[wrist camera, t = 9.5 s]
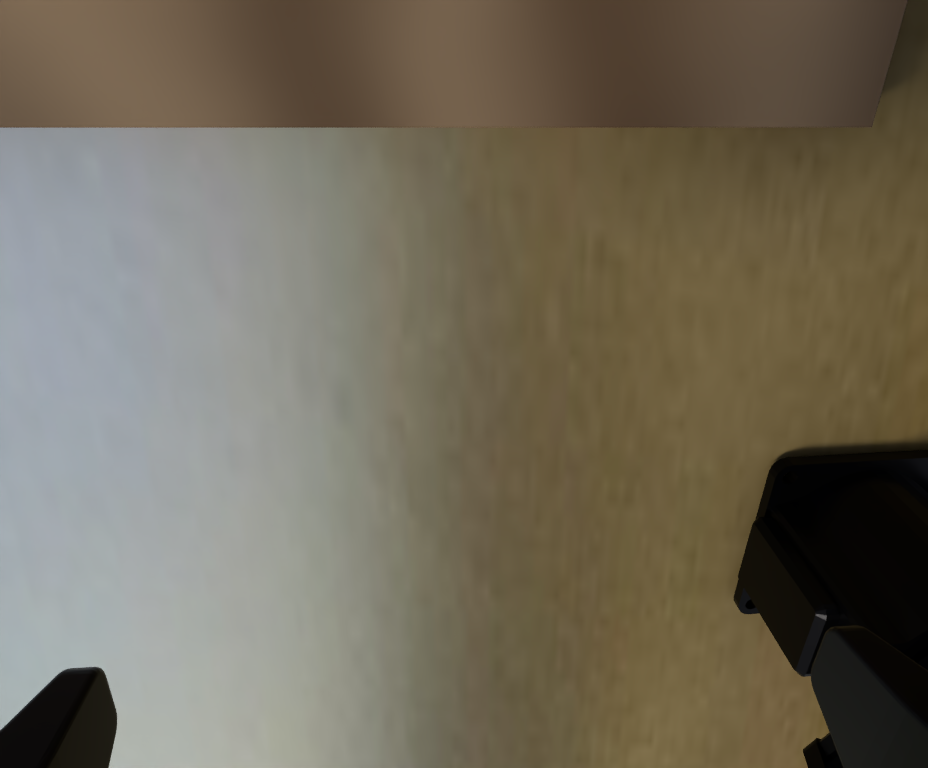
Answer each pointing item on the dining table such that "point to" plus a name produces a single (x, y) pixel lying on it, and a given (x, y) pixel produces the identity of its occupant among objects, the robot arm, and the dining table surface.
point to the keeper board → (445, 63)
